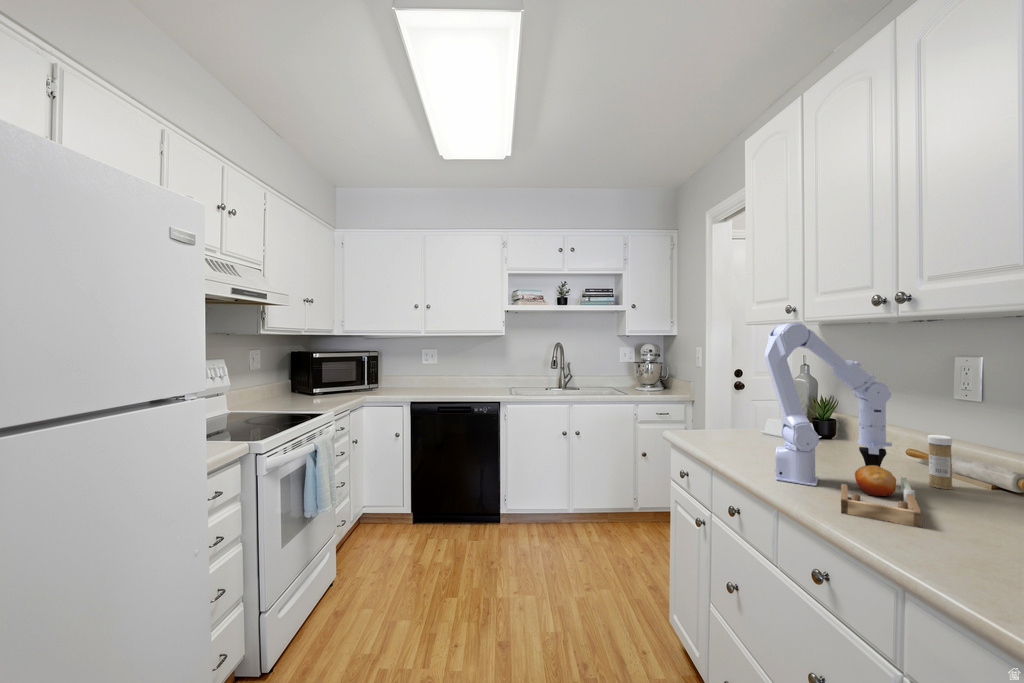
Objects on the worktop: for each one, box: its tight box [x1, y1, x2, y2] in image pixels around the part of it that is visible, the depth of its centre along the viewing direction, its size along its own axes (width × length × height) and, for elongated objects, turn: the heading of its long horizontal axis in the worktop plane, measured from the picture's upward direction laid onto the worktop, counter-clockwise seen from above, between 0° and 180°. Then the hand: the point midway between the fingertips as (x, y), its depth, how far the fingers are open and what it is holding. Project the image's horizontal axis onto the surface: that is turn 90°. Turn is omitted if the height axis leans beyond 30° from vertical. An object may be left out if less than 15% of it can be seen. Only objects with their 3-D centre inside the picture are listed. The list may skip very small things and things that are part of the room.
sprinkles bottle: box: [927, 434, 953, 490], centre depth 115 cm, size 5×5×14 cm
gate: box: [900, 476, 916, 502], centre depth 107 cm, size 13×2×3 cm, turn 143°
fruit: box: [854, 465, 897, 497], centre depth 111 cm, size 8×8×8 cm
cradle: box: [840, 483, 923, 528], centre depth 100 cm, size 13×13×4 cm
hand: (872, 475), depth 118 cm, fingers closed
